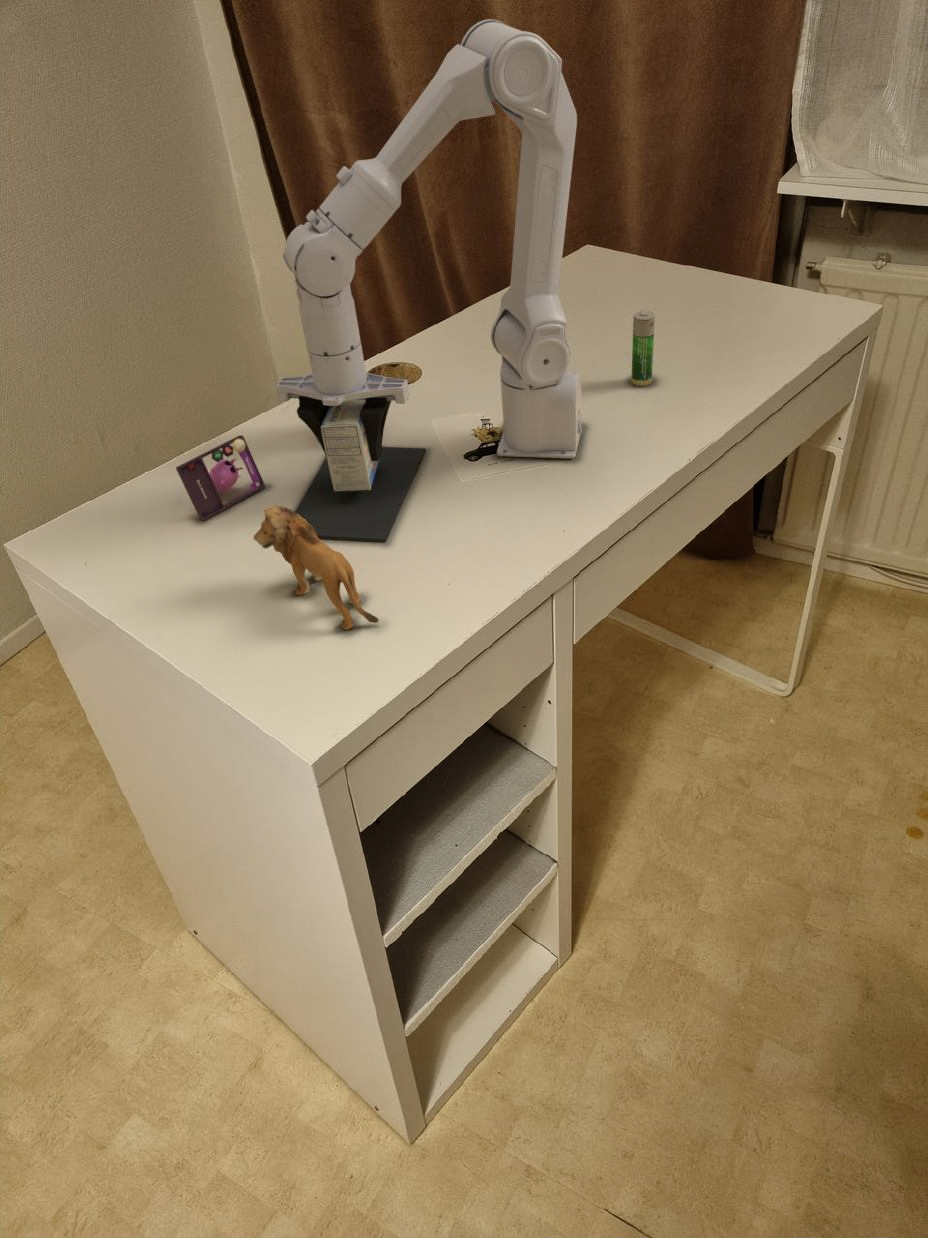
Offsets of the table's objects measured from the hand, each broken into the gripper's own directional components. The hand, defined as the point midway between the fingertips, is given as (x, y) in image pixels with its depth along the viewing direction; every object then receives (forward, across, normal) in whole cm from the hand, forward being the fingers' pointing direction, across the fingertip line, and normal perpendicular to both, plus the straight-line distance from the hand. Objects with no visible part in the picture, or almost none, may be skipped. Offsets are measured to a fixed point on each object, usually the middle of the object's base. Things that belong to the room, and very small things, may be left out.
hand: (354, 455), depth 109 cm
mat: (+4, 0, -1) cm, 4 cm away
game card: (+4, -16, -4) cm, 17 cm away
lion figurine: (+4, +2, -20) cm, 21 cm away
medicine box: (+3, 0, 0) cm, 3 cm away
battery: (+4, +31, +28) cm, 42 cm away
